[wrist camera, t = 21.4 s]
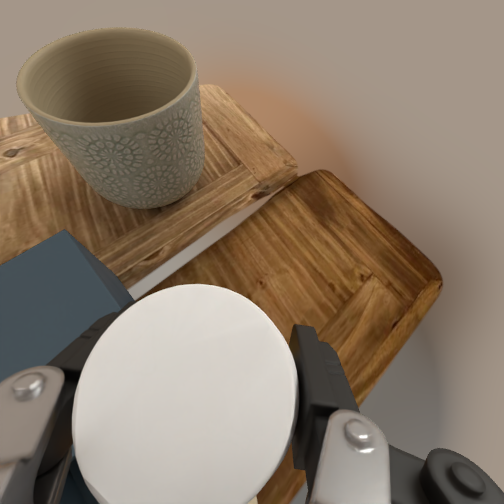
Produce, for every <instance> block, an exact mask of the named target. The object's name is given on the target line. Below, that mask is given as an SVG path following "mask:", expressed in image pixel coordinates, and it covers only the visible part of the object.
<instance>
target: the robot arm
mask: <svg viewBox="0 0 504 504" xmlns="http://www.w3.org/2000/svg"><path fill="white" fill-rule="evenodd" d="M135 303H137V302H135V301H130V302H128V303H127V304H126V305H125V306H124V307H123V308H122V309H121V310H120V311H119V312H118V313H117V312H112V313H110V314H108V315H106V316H103V317H101V318H99V319H98V320H97V321H96V322H94V323H93V324H92V325H91V326H90V327H89V328H88V330H87V329H86V330H85V331H84V332H83V333H82V334H81V335H80V337H77V338H76V339H75V340H74V341H73V342H72V343H70V344H69V345H68V346H67V347H66V348H65V349H63V350H62V351H61V352H60V353H59V354H58V355H57V356H55V357H54V358H53V359H52V360H51V361H50V362H49V363H47V364H46V365H45V366H37V367H32V368H28V369H25V370H22V371H20V372H17V373H15V374H13V375H11V376H10V377H8V378H6V379H5V380H3V381H2V382H1V383H0V504H59V503H60V500H61V496H62V492H63V489H64V485H65V481H66V478H67V474H68V471H69V467H70V463H71V460H72V444H73V437H72V412H73V404H74V397H75V392H76V389H77V385H78V382H79V379H80V376H81V373H82V370H83V367H84V365H85V363H86V361H87V359H88V357H89V355H90V353H91V351H92V350H93V348H94V346H95V345H96V343H97V342H98V340H99V339H100V337H101V336H102V335H103V333H104V332H105V331H106V330H107V329H108V327H109V326H110V325H111V324H112V323H113V322H114V321H115V320H116V319H117V318H118V317H119V316H120V315H121V314H122V313H123V312H125V311H126V310H127V309H128V308H130V307H131V306H132V305H134V304H135ZM289 349H290V351H291V353H292V356H293V359H294V362H295V366H296V370H297V375H298V383H299V412H298V419H297V424H296V428H295V432H294V435H293V438H292V451H293V462H294V469H300V470H305V471H306V478H307V486H308V493H307V497H306V502H305V504H504V493H503V491H502V490H501V489H500V488H499V487H498V486H497V485H496V483H495V482H494V481H493V480H492V479H491V478H490V477H489V476H488V475H487V474H486V473H485V472H484V471H483V470H482V469H481V468H480V467H478V466H477V465H476V464H475V463H473V462H472V461H470V460H469V459H468V458H466V457H464V456H462V455H461V454H459V453H456V452H454V451H451V450H448V449H443V448H437V449H434V450H431V452H430V453H429V454H428V456H427V458H426V461H425V460H422V459H420V458H418V457H416V456H413V455H411V454H409V453H407V452H404V451H402V450H400V449H398V448H395V447H393V446H391V445H389V444H388V443H387V440H386V438H385V436H384V434H383V433H382V431H381V430H380V429H379V428H378V426H377V425H375V423H374V422H373V421H371V420H370V419H369V418H367V417H366V416H364V415H362V414H360V411H359V409H358V406H357V404H356V401H355V399H354V396H353V393H352V391H351V388H350V386H349V383H348V381H347V378H346V376H345V373H344V370H343V368H342V366H341V363H340V360H339V358H338V355H337V353H336V352H335V350H334V349H333V348H332V347H331V346H330V345H329V344H328V343H327V342H320V341H319V340H318V337H317V334H316V331H315V328H314V327H311V326H304V325H297V324H294V326H293V329H292V333H291V338H290V343H289Z"/></svg>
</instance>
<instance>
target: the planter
mask: <svg viewBox="0 0 504 504" xmlns="http://www.w3.org/2000/svg"><path fill="white" fill-rule="evenodd" d="M16 87H17V92H18V95H19V98H20V99H21V101H22V102H23V104H24V105H25V106H26V108H27V109H28V111H29V112H30V113H31V114H32V116H33V117H34V118H35V120H36V121H37V122H38V123H39V125H40V126H41V127H42V128H43V130H44V131H45V132H46V133H47V135H48V136H49V137H50V138H51V140H52V141H53V142H54V143H55V144H56V146H57V147H58V148H59V149H60V150H61V152H62V153H63V154H64V155H65V156H66V158H67V159H68V160H69V161H70V163H71V164H72V165H73V166H74V168H75V169H76V170H77V171H78V173H79V174H80V175H81V176H82V178H83V179H84V180H85V181H86V182H87V183H88V184H89V185H90V186H91V187H92V188H93V189H94V190H95V191H96V192H97V193H98V194H100V195H101V196H102V197H104V198H106V199H107V200H109V201H111V202H113V203H115V204H118V205H121V206H124V207H128V208H134V209H151V208H158V207H162V206H165V205H168V204H171V203H173V202H175V201H177V200H179V199H180V198H182V197H183V196H184V195H186V194H187V193H188V192H189V191H190V190H191V189H192V188H193V187H194V185H195V184H196V183H197V181H198V179H199V177H200V175H201V173H202V170H203V166H204V159H205V145H204V135H203V125H202V113H201V101H200V91H199V82H198V74H197V69H196V63H195V60H194V58H193V56H192V55H191V53H190V52H189V51H188V49H187V48H185V47H184V46H183V45H182V44H180V43H179V42H177V41H176V40H174V39H172V38H170V37H168V36H166V35H163V34H160V33H157V32H153V31H149V30H144V29H136V28H122V27H121V28H120V27H119V28H118V27H116V28H101V29H95V30H88V31H83V32H79V33H75V34H72V35H69V36H66V37H63V38H61V39H58V40H56V41H54V42H52V43H50V44H48V45H46V46H44V47H43V48H41V49H40V50H38V51H37V52H35V53H34V54H33V55H32V56H31V57H30V58H29V59H28V60H27V61H26V62H25V63H24V65H23V66H22V68H21V69H20V71H19V73H18V76H17V81H16Z"/></svg>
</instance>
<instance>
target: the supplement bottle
mask: <svg viewBox="0 0 504 504" xmlns="http://www.w3.org/2000/svg"><path fill="white" fill-rule="evenodd" d="M298 412H299V383H298V375H297V370H296V366H295V362H294V359H293V356H292V353H291V351H290V349H289V347H288V344H287V343H286V341H285V339H284V337H283V336H282V334H281V333H280V331H279V330H278V328H277V327H276V326H275V325H274V324H273V322H272V321H271V320H270V319H269V318H268V316H267V315H266V314H265V313H264V312H263V311H262V310H261V309H260V308H259V307H257V306H256V305H255V304H254V303H253V302H251V301H250V300H248V299H247V298H245V297H243V296H242V295H240V294H238V293H236V292H233V291H231V290H228V289H226V288H221V287H217V286H213V285H204V284H190V285H179V286H175V287H171V288H167V289H164V290H161V291H158V292H156V293H153V294H151V295H149V296H147V297H145V298H144V299H142V300H140V301H138V302H137V303H135V304H134V305H132V306H131V307H130V308H128V309H127V310H126V311H125V312H123V313H122V314H121V315H120V316H119V317H118V318H117V319H116V320H115V321H114V322H113V323H112V324H111V325H110V326H109V327H108V329H107V330H106V331H105V332H104V333H103V335H102V336H101V337H100V339H99V340H98V342H97V343H96V345H95V346H94V348H93V350H92V351H91V353H90V355H89V357H88V359H87V361H86V363H85V365H84V367H83V370H82V373H81V376H80V379H79V382H78V385H77V389H76V392H75V397H74V404H73V412H72V437H73V445H74V450H75V456H76V459H77V463H78V466H79V469H80V472H81V474H82V476H83V479H84V481H85V483H86V485H87V487H88V488H89V490H90V492H91V493H92V494H93V496H94V497H95V498H96V500H97V501H98V502H99V503H100V504H248V503H249V502H250V501H251V500H252V499H253V498H254V497H255V496H256V495H257V494H258V492H259V491H260V490H261V489H262V488H263V486H264V485H265V484H266V482H267V481H268V480H269V479H270V478H271V476H272V475H273V474H274V472H275V471H276V470H277V468H278V467H279V465H280V464H281V462H282V460H283V459H284V457H285V455H286V453H287V451H288V449H289V446H290V444H291V441H292V438H293V435H294V432H295V428H296V424H297V419H298Z"/></svg>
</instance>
